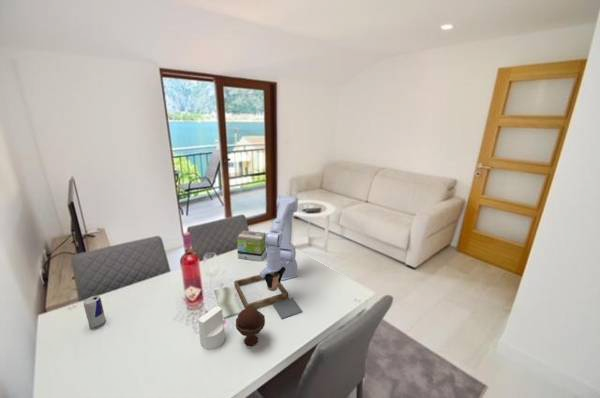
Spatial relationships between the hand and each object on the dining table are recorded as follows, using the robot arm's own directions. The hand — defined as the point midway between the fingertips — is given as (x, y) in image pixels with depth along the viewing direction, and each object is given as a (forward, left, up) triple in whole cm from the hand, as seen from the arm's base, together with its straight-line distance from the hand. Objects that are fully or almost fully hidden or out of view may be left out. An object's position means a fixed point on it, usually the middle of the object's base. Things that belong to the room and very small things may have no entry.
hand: (274, 284), depth 121 cm
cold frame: (+8, -9, -9) cm, 15 cm away
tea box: (-3, -44, -9) cm, 45 cm away
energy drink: (+70, -18, -9) cm, 72 cm away
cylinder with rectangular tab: (+30, +10, -9) cm, 33 cm away
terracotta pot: (+1, -1, -2) cm, 2 cm away
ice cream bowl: (+17, +17, -9) cm, 26 cm away
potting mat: (-3, +7, -9) cm, 12 cm away
